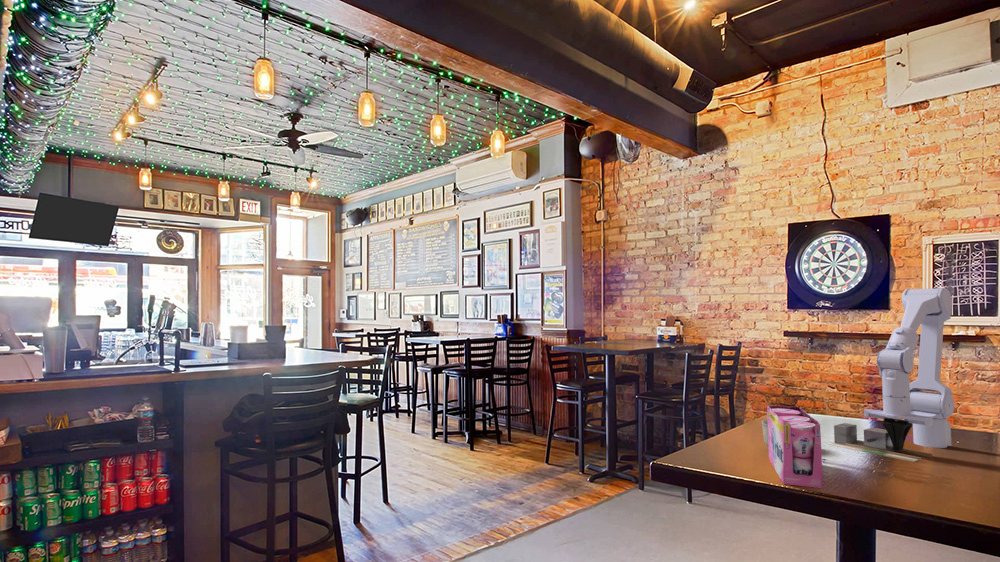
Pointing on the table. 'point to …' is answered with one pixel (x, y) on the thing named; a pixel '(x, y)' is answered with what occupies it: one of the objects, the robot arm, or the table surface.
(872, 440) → the gauge carriage
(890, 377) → the robot arm
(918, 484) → the table surface
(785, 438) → the gum box
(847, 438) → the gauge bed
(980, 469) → the table surface
